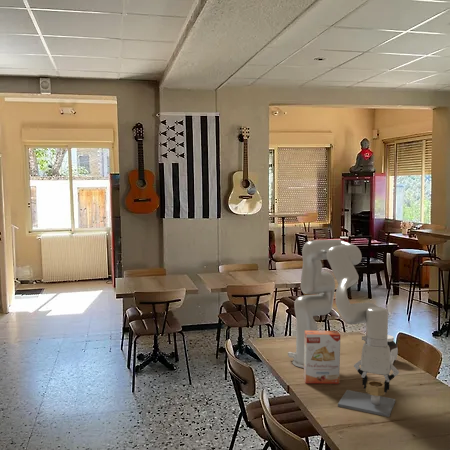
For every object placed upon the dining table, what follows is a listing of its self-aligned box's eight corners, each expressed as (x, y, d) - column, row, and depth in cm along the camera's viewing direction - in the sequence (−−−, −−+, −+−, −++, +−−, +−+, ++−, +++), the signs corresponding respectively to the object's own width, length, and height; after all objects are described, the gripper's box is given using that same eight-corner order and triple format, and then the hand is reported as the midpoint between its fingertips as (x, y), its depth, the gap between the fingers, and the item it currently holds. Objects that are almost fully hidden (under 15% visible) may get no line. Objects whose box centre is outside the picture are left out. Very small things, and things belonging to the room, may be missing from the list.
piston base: (337, 406, 174) (338, 393, 173) (347, 392, 186) (347, 379, 186) (389, 417, 165) (389, 403, 165) (395, 401, 177) (395, 388, 177)
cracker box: (305, 384, 194) (306, 334, 193) (303, 378, 200) (303, 329, 199) (340, 384, 194) (340, 334, 192) (336, 378, 200) (337, 329, 198)
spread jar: (389, 357, 226) (389, 333, 226) (405, 365, 216) (405, 340, 215) (367, 360, 223) (368, 335, 222) (382, 368, 212) (383, 342, 211)
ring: (364, 393, 172) (364, 385, 172) (368, 387, 178) (368, 379, 178) (383, 397, 169) (383, 388, 169) (386, 390, 175) (386, 382, 175)
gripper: (350, 340, 173) (349, 388, 174) (400, 347, 165) (399, 397, 166) (354, 335, 180) (354, 381, 181) (403, 342, 172) (402, 390, 173)
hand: (375, 388), depth 174 cm, fingers closed on ring, 6 cm apart
